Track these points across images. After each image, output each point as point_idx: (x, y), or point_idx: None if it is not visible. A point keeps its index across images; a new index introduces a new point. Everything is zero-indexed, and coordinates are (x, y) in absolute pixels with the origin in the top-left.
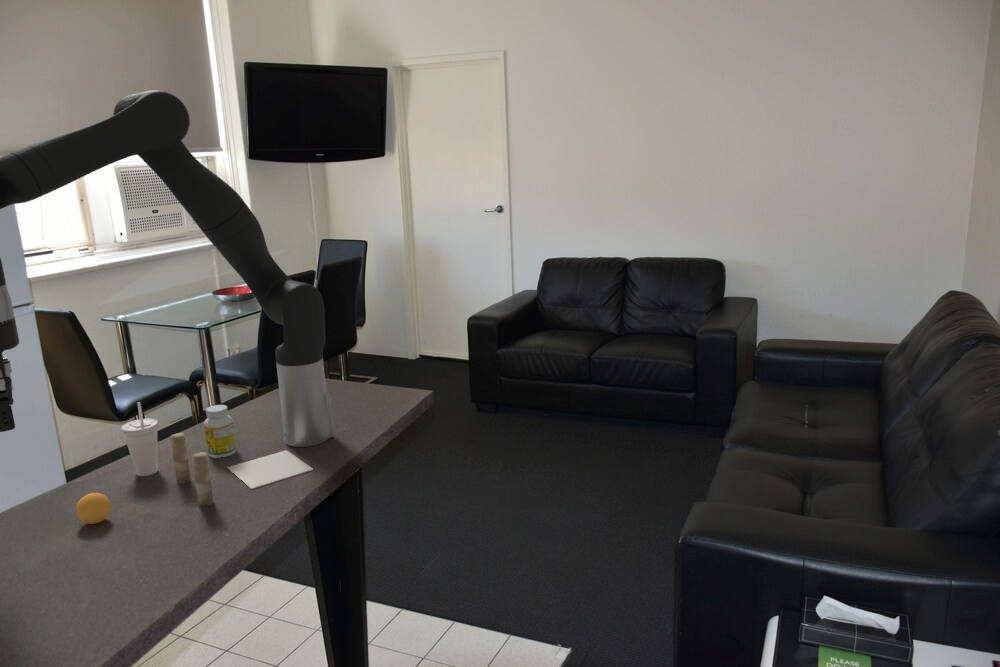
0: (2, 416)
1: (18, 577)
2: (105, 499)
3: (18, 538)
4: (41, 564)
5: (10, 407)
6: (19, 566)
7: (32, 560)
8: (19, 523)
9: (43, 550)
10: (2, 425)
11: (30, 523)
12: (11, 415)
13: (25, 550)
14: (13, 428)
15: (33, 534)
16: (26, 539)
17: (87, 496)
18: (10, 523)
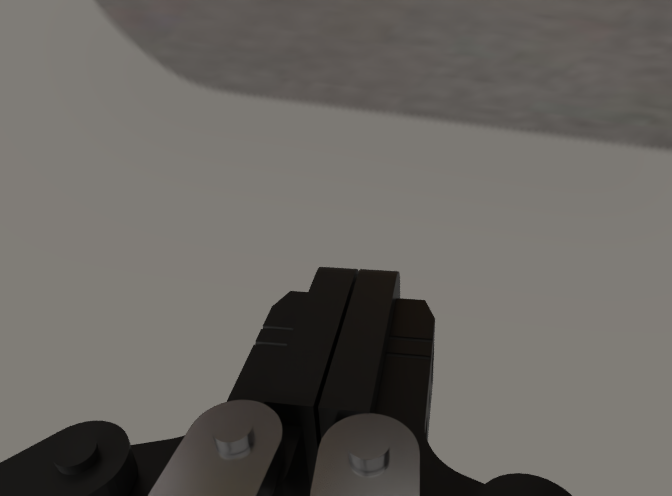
0: (427, 426)
1: (663, 123)
2: None
3: (370, 84)
4: (635, 50)
5: (368, 404)
6: (585, 110)
7: (577, 70)
8: (254, 65)
9: (529, 29)
10: (432, 376)
11: (276, 35)
12: (385, 349)
13: (480, 78)
14: (398, 277)
15: (373, 39)
16: (397, 64)
17: None
18: (237, 88)
